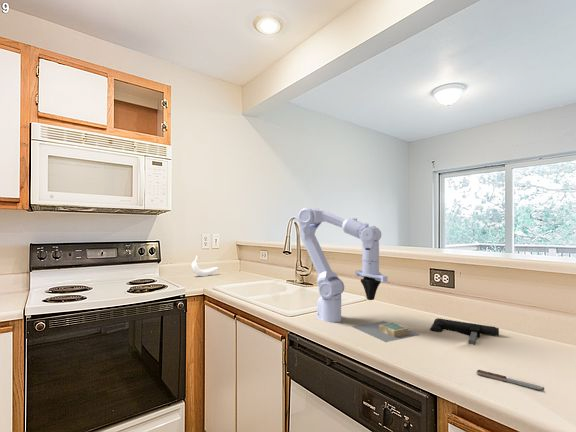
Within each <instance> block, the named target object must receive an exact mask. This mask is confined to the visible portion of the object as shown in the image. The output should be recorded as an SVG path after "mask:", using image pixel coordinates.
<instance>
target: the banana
mask: <svg viewBox="0 0 576 432" xmlns="http://www.w3.org/2000/svg"><path fill="white" fill-rule="evenodd" d="M198 259H199V257H198V255H195V259H194V260H193V261H192V263H191V265H190V268H191V270H192V271H193V273H194V274H195V275H196V276H199V277H207V276H211V275H212V274H215V273H216V272H217V271H219V270H218V269H219V267H218V266H214V267H210V268H206V269H201V268H200V266H198V263H197V262H198V261H197V260H198Z"/></svg>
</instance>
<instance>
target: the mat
mask: <svg viewBox="0 0 576 432" xmlns="http://www.w3.org/2000/svg"><path fill="white" fill-rule="evenodd" d="M387 323H389V322H388V321H385V320H381V321H376V322H368V323H365V324H364V323H363V324H358V325H357V324H356V325H352V326H351V328H353V329H356V330H358V331H360V332H363V333H364V334H367V335H370V336H371V337H373V338H376V339H377V340H380V341H383V342H384V343H387V342H393V341H397V340H402V339H407V338H412V337H417V336H421V334H419V333H416V332H415V331H411V330H409V329H408V335H403V336H398V337H393V336H390V335H388V334H385V333H383V332H381V331H379V325H382V324H387Z"/></svg>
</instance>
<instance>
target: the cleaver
mask: <svg viewBox="0 0 576 432" xmlns="http://www.w3.org/2000/svg"><path fill="white" fill-rule="evenodd" d="M476 375H478V376H480V377H482V378H483V377H484V378H487V379H491V380H495V381H498V382H502V383H506V382H508V383H511V384H515V385H518V386H519V385H520V386H523V387H527V388H531V389H534V390H541V389H544V387H543V386H540V385H537V384H534V383H530V382H525V381H521V380H518V379H517V380H516V379H514V378H509V377H507V376H505V375H502V374H498V373H494V372H490V371H486V370H483V369H482V370H481V369H477V370H476Z"/></svg>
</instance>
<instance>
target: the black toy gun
mask: <svg viewBox="0 0 576 432" xmlns="http://www.w3.org/2000/svg"><path fill="white" fill-rule="evenodd" d="M433 321H434V322H433V323H432V325H431V327H430V328H429V331H430V332H434V333H442V332H443V331H444V330H445V331H450V332H456V333H460V334H461V335H465V336H468V337H469V338H468V345H469V344H470V345H473V346H475V345H476V343H477V340H478V338H481V337H480V336H481V335H486V336H493V337H496V336H497V337H499V336H500V334H499V333H500V328H499V327H496V326H492V325H485V324H480V323H479V324H478V323H473V322H466V321H459V320H451V319H445V318H439V317H437V318H435V319H434V320H433Z"/></svg>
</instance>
